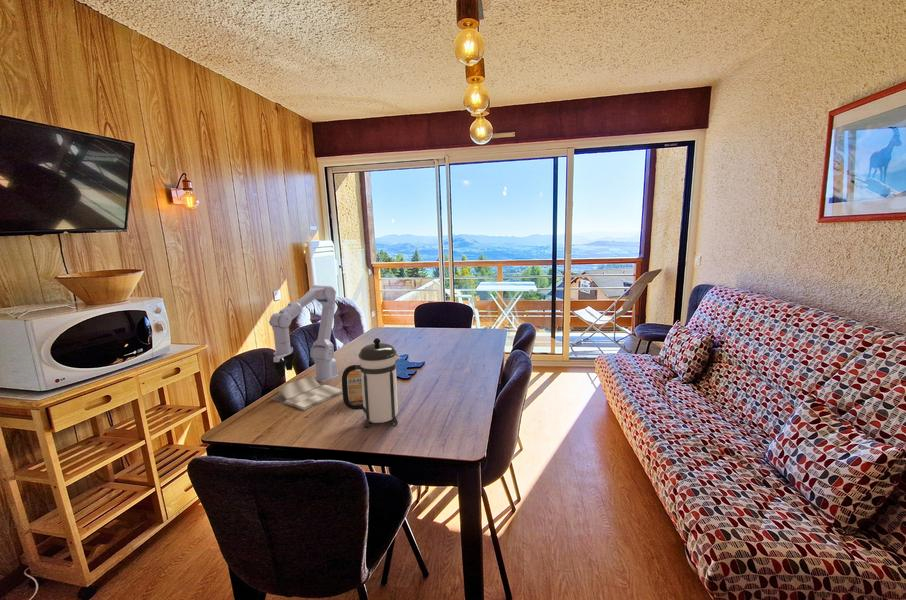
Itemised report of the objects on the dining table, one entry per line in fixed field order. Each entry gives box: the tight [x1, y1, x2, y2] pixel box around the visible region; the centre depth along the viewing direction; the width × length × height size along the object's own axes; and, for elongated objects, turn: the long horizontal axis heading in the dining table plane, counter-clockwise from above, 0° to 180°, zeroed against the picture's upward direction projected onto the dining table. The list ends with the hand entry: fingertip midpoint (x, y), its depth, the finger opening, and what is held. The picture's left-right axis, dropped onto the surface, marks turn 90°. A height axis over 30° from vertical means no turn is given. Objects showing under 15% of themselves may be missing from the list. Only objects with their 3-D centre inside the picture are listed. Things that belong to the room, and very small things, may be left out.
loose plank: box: [276, 375, 320, 400], centre depth 154 cm, size 16×7×1 cm
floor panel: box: [270, 384, 343, 412], centre depth 151 cm, size 20×22×2 cm
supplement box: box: [347, 369, 363, 403], centre depth 147 cm, size 8×5×13 cm, turn 105°
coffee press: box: [341, 337, 402, 429], centre depth 127 cm, size 17×16×30 cm
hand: (285, 373), depth 153 cm, fingers open, 7 cm apart
